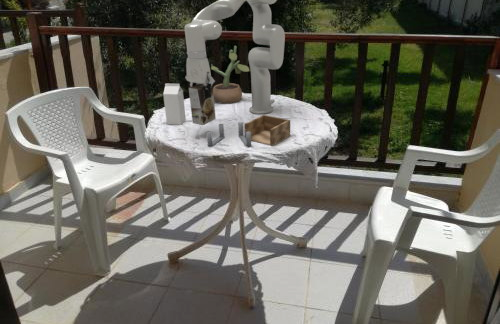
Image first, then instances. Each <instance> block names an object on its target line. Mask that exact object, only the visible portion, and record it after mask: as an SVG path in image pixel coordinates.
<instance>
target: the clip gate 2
mask: <svg viewBox="0 0 500 324" xmlns="http://www.w3.org/2000/svg"><path fill="white" fill-rule="evenodd" d="M243 123H244V122H240V121H239V122H238V123H237V126H238V136H237V137H238V138H239V139H240V140H241V142H242V143H243V144H244V146H245V147H248V148H249V147H252V141H251V132H250V131H248V132H246V138H245V134H244V124H243Z"/></svg>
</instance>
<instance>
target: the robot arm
mask: <svg viewBox="0 0 500 324" xmlns="http://www.w3.org/2000/svg"><path fill="white" fill-rule="evenodd" d="M277 1H278V0H216V1H215V2H213V3H211V4H210V5H207V6H206V7H204V8H203V9H201V10H200V11H199V12H198V13H197V14H196V15H195V16H194V17H193V19H192V21H191V22H189V23H186V24H185V26H184V35H185V44H186V54H187V58H186V64H185V67H186V75H185V77H184V78H185V80H186V81H187V83H188V85H189V88H190V87H192V86H195V85H197V83H198V84H203V85H204V87H205V90H204V93H205V99H208V98H210V97H211V90H210V88H211V87H212V86H213V85H214V84H215V82H216V80H215V79H214V77H212V74H211V65H210V62H209V59H208V58H207V49H206V41H210V40H211V41H212V40H217V39H218V38H220V36H222V32H223V28H222V25H221V24H220V23H219V22H218V21H220V20H223V19H226V18H227V19H228V18H229V17H230V18H231V17H232V16H234V15H235V13H236V12H237V11H238V10H239V9H240V8H241V6H242V5H243V4H244V3H245V2H247V3H248V5H250V7H251V10H252V12H253V13H252V14H253V22H252V25H253V26H252V40H253V42H254V43H255V44H257V45H263V46H269V47H262V46H261V47H259V46H257V47H253V48H251V50H249V52H248V56H247V57H248V58H247V60H248V64H249V70H250V79H251V80H250V82H251V85H250V86H251V106H249V109H248V110H249V112H250V113H252V114H256V115H266V114H267V115H268V114H270V113H272V112H274V111H275V108H274V106H272V105H273V104H274V103H275V102H276V100H275V99H273V98H271V93H272V92H271V74H270V71H269V70H279V69H281V67H282V65H283V61H284V53H285V42H286V39H285V38H286V34H285V30H284V28H283V27H282V26H281V25H279V24H272V10H271V7H270V5H272V4H273V5H274V4H275V3H277ZM209 81H210V82H209ZM206 83H207V85H206ZM213 87H214V86H213Z"/></svg>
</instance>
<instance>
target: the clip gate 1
mask: <svg viewBox="0 0 500 324" xmlns="http://www.w3.org/2000/svg"><path fill="white" fill-rule="evenodd" d="M224 126H225V125H224V123H219V124H218V134H219V135H218V136H217V137H215V138H214V139H213V135H212V134H213V133H212V132H213V131H207V132H206V140H207V141H206V143H207V147H210V148H211V147H214V146H215V145H216V144H219V142H220V141H222V140H224V139H225V130H224V129H225V128H224Z"/></svg>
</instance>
